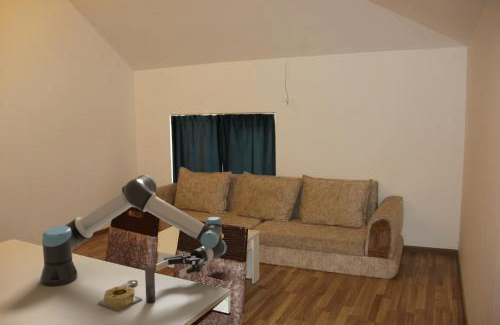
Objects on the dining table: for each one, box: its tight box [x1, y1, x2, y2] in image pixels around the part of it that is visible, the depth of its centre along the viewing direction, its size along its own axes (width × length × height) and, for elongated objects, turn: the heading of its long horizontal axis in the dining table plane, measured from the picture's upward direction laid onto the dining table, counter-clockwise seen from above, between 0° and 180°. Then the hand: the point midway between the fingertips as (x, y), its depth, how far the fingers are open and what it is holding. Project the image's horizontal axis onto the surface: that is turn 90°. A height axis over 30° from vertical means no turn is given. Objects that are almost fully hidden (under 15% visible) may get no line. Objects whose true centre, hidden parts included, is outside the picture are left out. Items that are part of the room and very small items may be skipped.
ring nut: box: [97, 285, 143, 313], centre depth 160 cm, size 12×12×4 cm
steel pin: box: [144, 265, 156, 305], centre depth 160 cm, size 4×4×14 cm
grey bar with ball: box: [117, 279, 139, 288], centre depth 173 cm, size 14×4×1 cm, turn 147°
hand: (168, 270), depth 167 cm, fingers open, 13 cm apart
